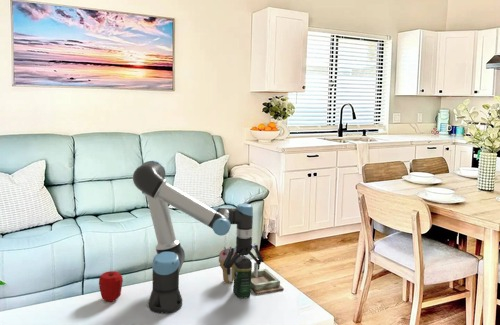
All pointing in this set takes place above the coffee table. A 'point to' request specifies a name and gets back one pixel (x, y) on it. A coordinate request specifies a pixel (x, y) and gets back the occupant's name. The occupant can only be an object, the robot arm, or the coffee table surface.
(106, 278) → the apple
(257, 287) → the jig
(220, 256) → the ice cream cone
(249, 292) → the coffee jar
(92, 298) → the coffee table surface
